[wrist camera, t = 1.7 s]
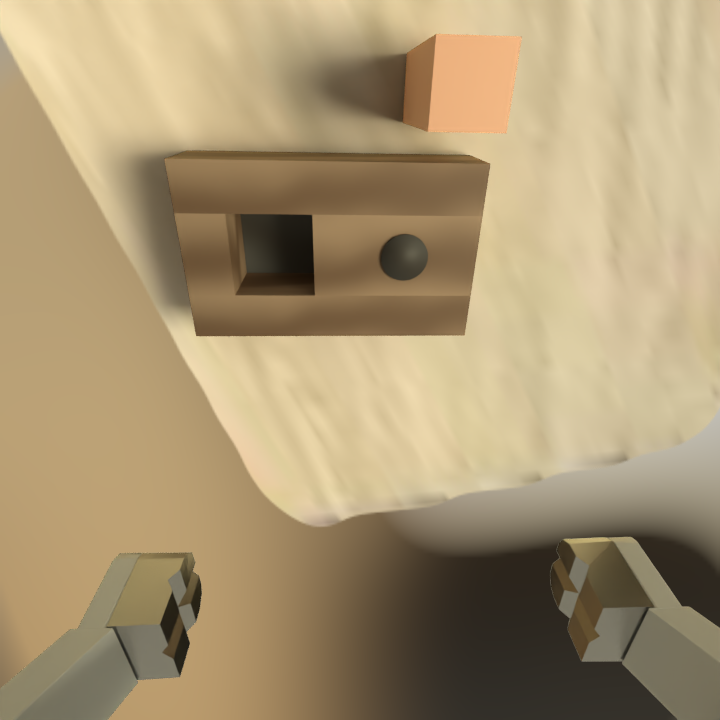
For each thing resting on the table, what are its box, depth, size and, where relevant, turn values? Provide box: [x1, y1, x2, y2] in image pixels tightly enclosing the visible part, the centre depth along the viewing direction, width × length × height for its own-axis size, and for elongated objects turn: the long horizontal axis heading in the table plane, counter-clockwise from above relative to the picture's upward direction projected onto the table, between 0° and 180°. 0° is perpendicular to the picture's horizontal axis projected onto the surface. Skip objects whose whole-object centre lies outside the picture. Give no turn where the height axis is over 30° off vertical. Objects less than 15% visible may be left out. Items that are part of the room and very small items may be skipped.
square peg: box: [403, 34, 522, 133], centre depth 26 cm, size 4×4×10 cm
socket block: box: [164, 151, 490, 336], centre depth 33 cm, size 12×20×5 cm, turn 89°
